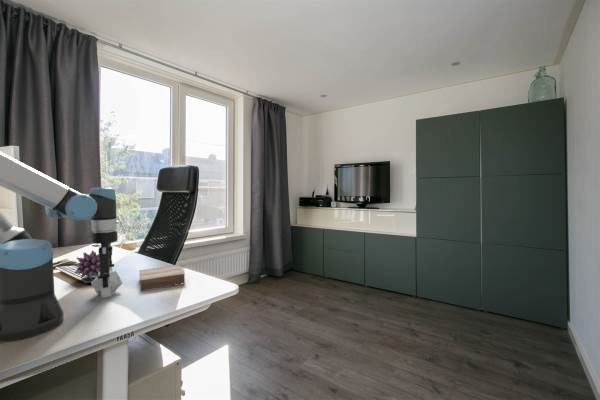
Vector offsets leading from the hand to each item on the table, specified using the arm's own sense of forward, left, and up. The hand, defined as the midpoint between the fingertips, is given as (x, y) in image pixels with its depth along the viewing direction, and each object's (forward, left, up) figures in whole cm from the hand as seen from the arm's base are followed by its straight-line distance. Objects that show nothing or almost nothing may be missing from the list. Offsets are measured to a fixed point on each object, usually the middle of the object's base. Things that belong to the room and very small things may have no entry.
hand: (107, 290), depth 107 cm
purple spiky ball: (+25, +7, -1) cm, 26 cm away
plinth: (+4, -18, -1) cm, 18 cm away
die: (0, 0, -1) cm, 1 cm away
